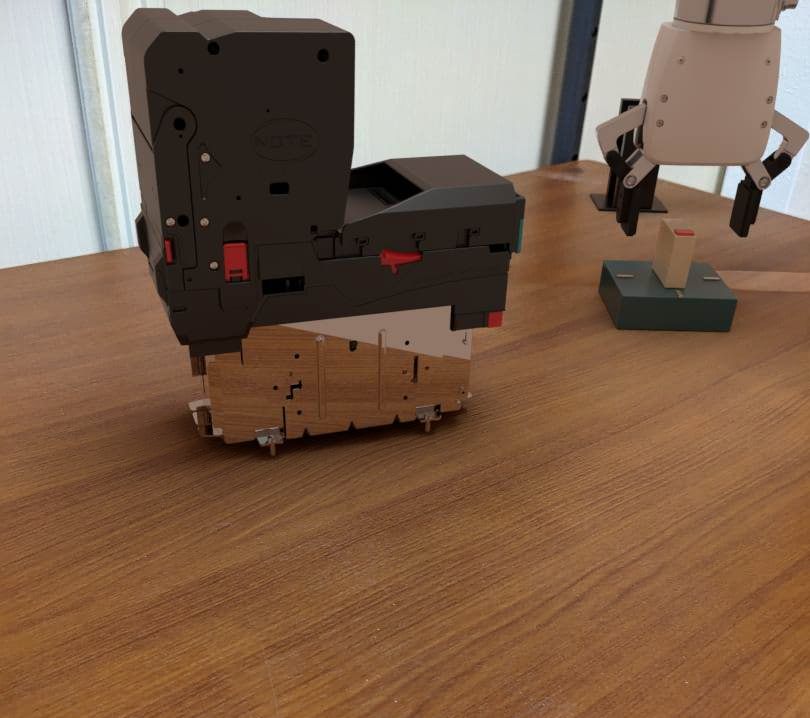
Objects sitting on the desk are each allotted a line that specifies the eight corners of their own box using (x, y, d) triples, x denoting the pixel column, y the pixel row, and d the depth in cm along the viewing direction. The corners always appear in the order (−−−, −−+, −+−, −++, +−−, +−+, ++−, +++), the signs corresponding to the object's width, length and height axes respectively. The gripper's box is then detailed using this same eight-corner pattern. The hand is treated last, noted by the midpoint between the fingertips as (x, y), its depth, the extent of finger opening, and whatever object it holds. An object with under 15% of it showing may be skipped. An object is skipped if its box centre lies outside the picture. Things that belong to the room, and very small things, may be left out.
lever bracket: (654, 205, 111) (674, 99, 104) (666, 221, 106) (688, 110, 99) (588, 203, 111) (604, 96, 104) (597, 219, 106) (614, 107, 99)
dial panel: (701, 293, 88) (709, 260, 86) (730, 332, 80) (739, 297, 79) (597, 290, 88) (603, 257, 86) (616, 329, 80) (623, 294, 78)
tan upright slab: (651, 267, 84) (662, 215, 81) (671, 268, 84) (682, 215, 81) (664, 288, 80) (676, 233, 77) (685, 288, 80) (697, 234, 77)
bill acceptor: (506, 424, 66) (551, 26, 51) (182, 474, 59) (125, 32, 44) (450, 362, 74) (475, 2, 59) (158, 400, 67) (103, 4, 52)
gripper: (820, 1, 73) (767, 219, 83) (603, -2, 73) (576, 217, 83) (859, 14, 67) (796, 247, 77) (622, 10, 67) (590, 245, 77)
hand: (682, 231), depth 80 cm, fingers open, 9 cm apart
